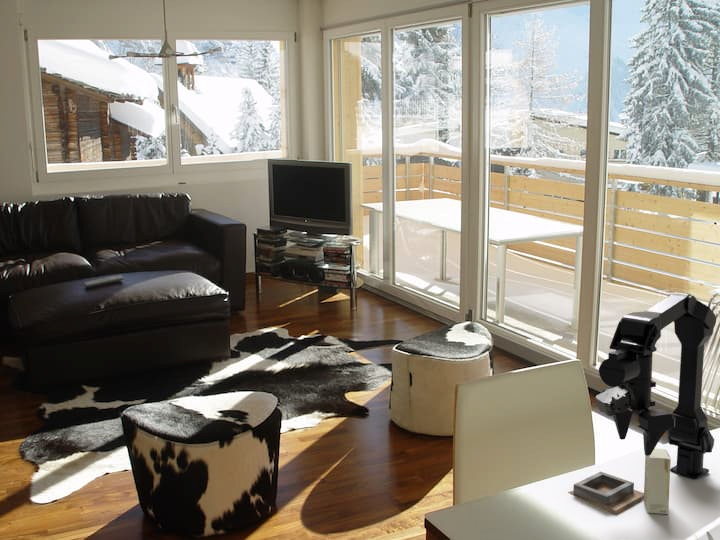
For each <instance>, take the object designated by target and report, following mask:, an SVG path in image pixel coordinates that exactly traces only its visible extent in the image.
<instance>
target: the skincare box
mask: <svg viewBox="0 0 720 540" xmlns="http://www.w3.org/2000/svg"><path fill="white" fill-rule="evenodd" d="M644 456H645V457H644V458H645V459H644V484H643V485H644V486H643V487H644V488H643V490H644V491H643V493H644V498H643V503H644V507H645V509H646V512H647V514H648V513H651V514H662V515H663V514H665V515H669V508H670V482H671V481H670V480H671V471H670V469H671V456H670V454H669V452H668V450H667V449H666V448H665V449H664V448H654V450H653V452H652V453H651V455H649V456H646V455H645V454H644Z"/></svg>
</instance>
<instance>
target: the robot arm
mask: <svg viewBox="0 0 720 540" xmlns="http://www.w3.org/2000/svg"><path fill="white" fill-rule="evenodd" d="M672 323H674V324H673V325H674V329H673V330H674V333H675V335H676V338H677V339H678V342H679V343H680V345H681V347H680V348H681V349H680V362H679V363H680V365H679V380H678V381H679V382H678V397H677V399H678V400H677V401H678V402H677V406H676V407H675V408H674V410H673V411H672V413H671V412H669V411H667V410H665V409H663V408H661V407H660V408H654V409H651V408H650V407H655V406H656V400H653V398H652V388H656V387H657V381H654V380H653V377H652V375H653V353H655V352H657V349H658V348H657V347H656V344H657V342H658V341H659V339H661V337H662V330H664V329H665V328H666V327H667V326H669V325H670V324H672ZM716 323H717V316H716V314H715V312H714V311H713V310H712V309H711V307H710V306H709V305H706V304H705V303H703V302H702V301H700V300H698V299H697V298H696V296H694V295H692V294H691V293H685V292H678V291H673V292H670V293H669V294H668V295H667V297H665V298H664V299H662V300H661V301H659V302H658V303H656V304H654V305H653V306H651V307H650V308H648V309H647V310H643V311H635V312H634V311H633V312H629V313H627V314H625V315H623V316H622V317H621V319H620V320H619V322H618V323H617V326H616V329H615V332H614V335H613V337H612V339H611V342H610V345H609V350H614V351H610V352H609V353H608V358H607V359H603V360H602V362H601V363H600V365H599V367H598V375H599V377H600V379H601V381H602V382H603V383H604V384H605V385H606V386H609V387H611V388H608V389H607V388H606V389H603V391H602V392H600V393H598V394H597V395H596V396H595V400H596V403H597V407H598V410H599V412H602V413H604V414H606V416H608V417H612V418H613V421H614V424H615V427H616V431H617V434H618V437H619V440H625V439H626V437H627V434H628V431H629V427H630V423H631V420H632V416H633V414H634V413H635V414H637V415H638V416H637V421H638V425H637V428H639V430H640V431H641V432H642V435H643V437H642V438H643V451H644V456H645V455H646V456H649V455H651V453H652V452H653V450H654V449H656V447H657V445H658V443H659V442H660V440H661V438H662V437H663V436H664V434H665V433H667V439H668V440H667V441H668V444H669V445H671V446H676V447H677V449H676V450H677V452H676V453H677V454H676V465H675V466H672V467H670V472H673V473H676V474H679V475H680V476H681V475H682V476H684V477H688V478H692V479H696V480H697V479H699V478H701V477H703V476H704V475H707V473H709V472H710V469H708V468H705V467H704V454H707V453H712V451H713V449H714V446H715V438H714V436H713V435H712V433H711V431H710V430H709V428H708V424H709V423H708V417H707V415H706V413H705V412H704V410H703V408H702V405H701V403H702V389H703V373H704V372H703V371H704V358H705V357H704V356H705V345H706V344H707V342H708V341H709V340H710V339H711V338H712V336H713V334H714V328H715V327H716ZM633 412H634V413H633Z"/></svg>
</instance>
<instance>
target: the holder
mask: <svg viewBox="0 0 720 540" xmlns="http://www.w3.org/2000/svg"><path fill="white" fill-rule="evenodd" d="M567 493H568V494H570V495H572V496H575V497H577V498H578V499H581V500H583V501H585V502H587V503H588V504H592V505H594V506H596V507H598V508H600V509H603V510H604V511H607V512H610V513H611V514H614V515H616V514H619V513H620V512H622V511H624V510H626V509H628V508H629V507H631V506H633V505H635V504H636V503H639V502H640V501H642V500H644V492H642V491H639V490H636V489H635V483H634V482H632V481H629V480H627V479H623V478H621V477H618V476H616V475H612V474H609V473H606V472H603V471H599V472H597V473H594V474H592V475H591V476H588V477H585V478H584V479H582V480H580V481H578V482H575V483H573V490H570V491H568V492H567Z"/></svg>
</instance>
